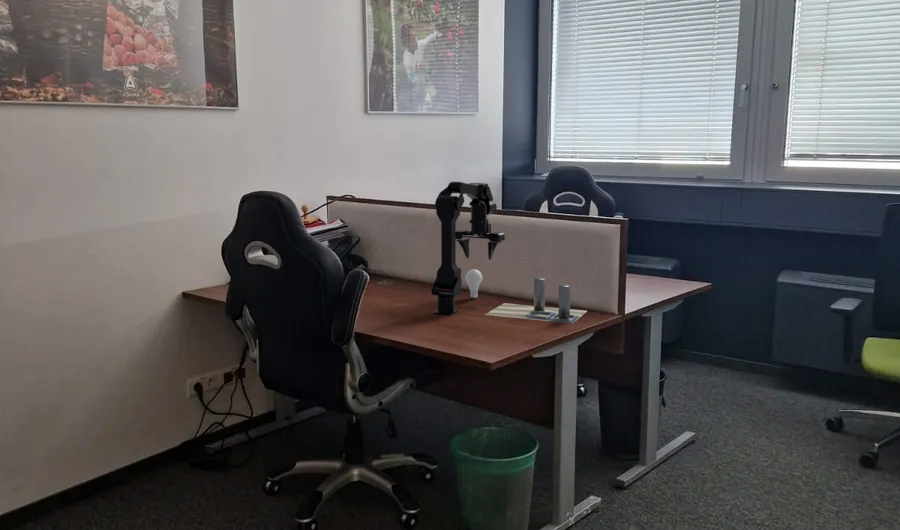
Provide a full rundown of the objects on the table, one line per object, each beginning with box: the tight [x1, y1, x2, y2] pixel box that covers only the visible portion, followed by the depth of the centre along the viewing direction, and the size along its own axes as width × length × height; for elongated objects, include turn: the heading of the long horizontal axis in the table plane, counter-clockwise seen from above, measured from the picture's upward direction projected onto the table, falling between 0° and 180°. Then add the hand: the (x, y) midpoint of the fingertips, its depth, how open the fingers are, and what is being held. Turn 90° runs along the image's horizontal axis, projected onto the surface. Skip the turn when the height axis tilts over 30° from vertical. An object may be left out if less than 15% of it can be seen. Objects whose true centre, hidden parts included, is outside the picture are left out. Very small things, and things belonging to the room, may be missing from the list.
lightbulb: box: [464, 268, 483, 299], centre depth 278 cm, size 6×6×11 cm
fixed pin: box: [558, 284, 571, 320], centre depth 241 cm, size 4×4×11 cm
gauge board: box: [484, 302, 588, 324], centre depth 251 cm, size 18×30×2 cm, turn 65°
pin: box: [533, 277, 546, 311], centre depth 252 cm, size 4×4×11 cm
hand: (478, 258), depth 279 cm, fingers open, 9 cm apart
